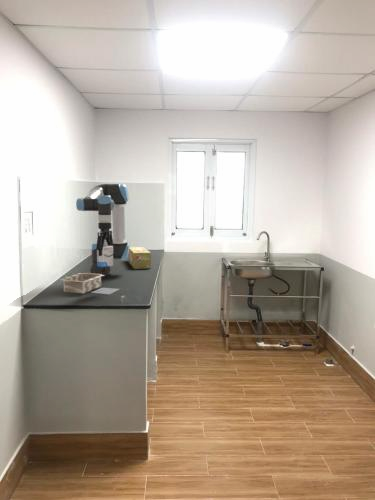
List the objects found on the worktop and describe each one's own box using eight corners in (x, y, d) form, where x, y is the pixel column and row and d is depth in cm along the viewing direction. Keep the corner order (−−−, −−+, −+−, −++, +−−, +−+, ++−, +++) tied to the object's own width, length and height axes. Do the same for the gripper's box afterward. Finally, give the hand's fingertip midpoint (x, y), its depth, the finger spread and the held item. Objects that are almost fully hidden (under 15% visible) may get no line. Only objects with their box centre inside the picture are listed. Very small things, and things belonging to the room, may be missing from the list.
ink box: (102, 267, 244) (101, 242, 242) (96, 266, 247) (96, 241, 245) (113, 265, 251) (113, 241, 249) (108, 264, 254) (107, 240, 252)
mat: (102, 288, 259) (102, 287, 259) (119, 289, 256) (119, 289, 256) (90, 293, 246) (90, 292, 246) (109, 294, 243) (109, 294, 243)
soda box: (151, 269, 329) (151, 252, 327) (133, 269, 325) (133, 253, 324) (143, 260, 368) (143, 246, 366) (127, 261, 364) (127, 246, 362)
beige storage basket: (80, 283, 271) (80, 272, 270) (106, 285, 266) (106, 274, 265) (58, 292, 247) (57, 280, 247) (85, 294, 242) (85, 282, 241)
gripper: (107, 220, 257) (108, 257, 260) (89, 223, 236) (90, 262, 239) (119, 221, 255) (119, 257, 258) (101, 223, 234) (102, 263, 237)
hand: (105, 260), depth 248 cm, fingers closed on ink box, 9 cm apart
